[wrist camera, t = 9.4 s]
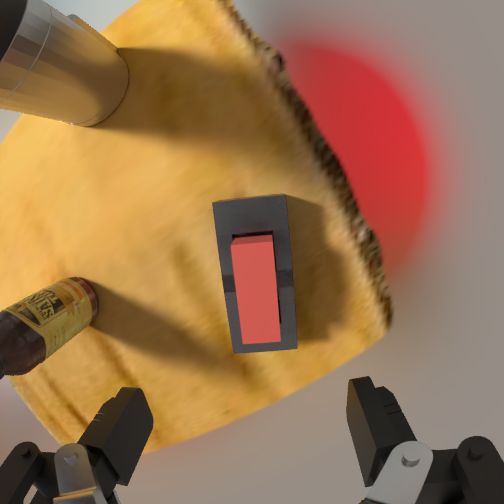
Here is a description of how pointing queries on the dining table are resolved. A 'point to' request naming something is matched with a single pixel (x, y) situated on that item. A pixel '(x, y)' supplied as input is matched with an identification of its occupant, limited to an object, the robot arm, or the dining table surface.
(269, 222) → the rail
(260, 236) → the red block
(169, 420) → the dining table surface
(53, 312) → the sauce bottle
